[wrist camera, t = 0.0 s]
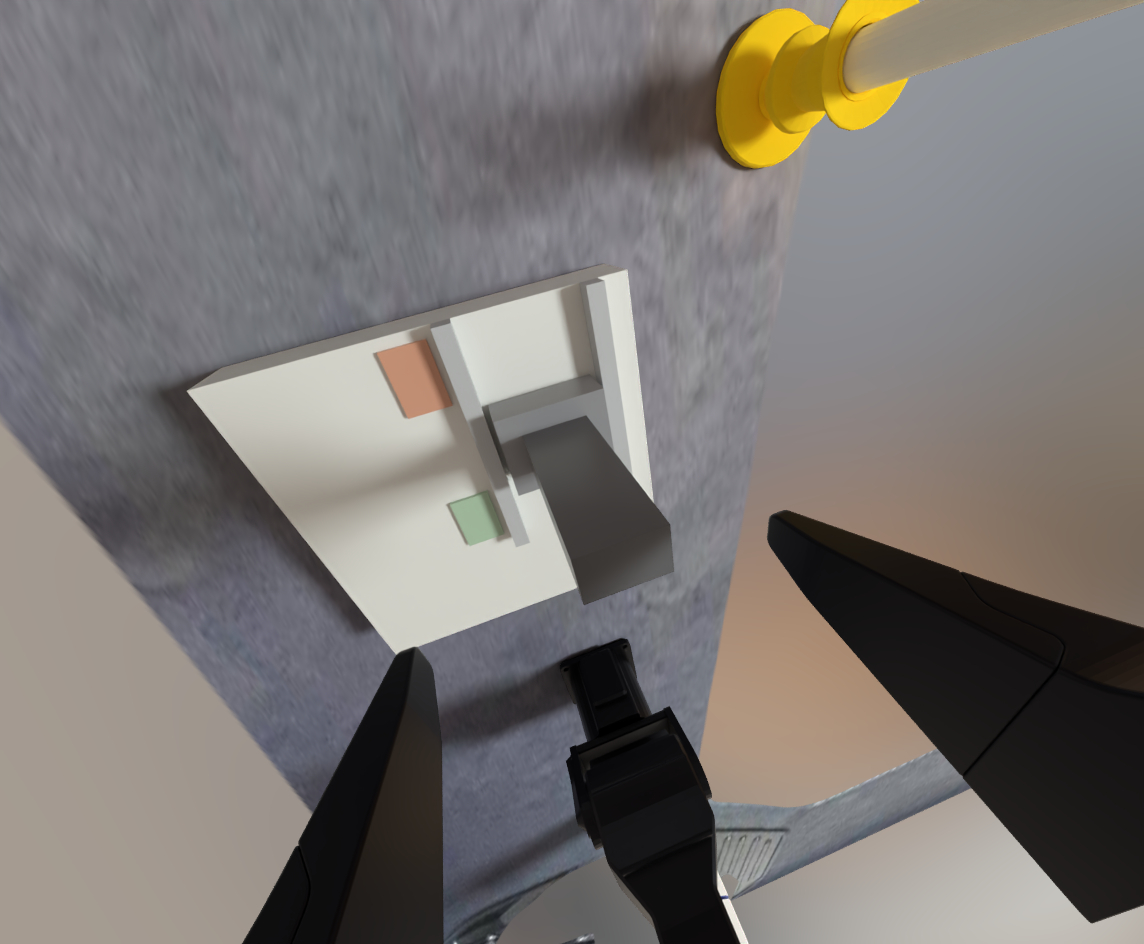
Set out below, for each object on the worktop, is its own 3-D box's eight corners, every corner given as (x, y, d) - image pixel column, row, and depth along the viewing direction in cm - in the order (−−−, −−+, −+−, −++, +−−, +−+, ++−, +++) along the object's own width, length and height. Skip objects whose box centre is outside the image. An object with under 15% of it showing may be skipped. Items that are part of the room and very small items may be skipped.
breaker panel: (641, 529, 30) (666, 567, 27) (399, 616, 28) (394, 669, 25) (603, 263, 20) (636, 271, 17) (221, 367, 18) (172, 400, 15)
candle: (825, 128, 20) (1552, -51, 7) (732, 192, 20) (1257, 137, 7) (808, -18, 17) (2039, -821, 4) (699, 60, 17) (1497, -436, 4)
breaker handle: (602, 444, 22) (703, 581, 13) (512, 474, 21) (559, 636, 13) (589, 374, 19) (700, 485, 11) (488, 405, 19) (526, 546, 11)
